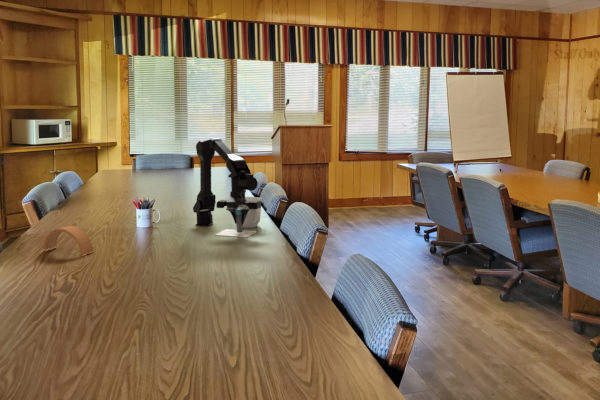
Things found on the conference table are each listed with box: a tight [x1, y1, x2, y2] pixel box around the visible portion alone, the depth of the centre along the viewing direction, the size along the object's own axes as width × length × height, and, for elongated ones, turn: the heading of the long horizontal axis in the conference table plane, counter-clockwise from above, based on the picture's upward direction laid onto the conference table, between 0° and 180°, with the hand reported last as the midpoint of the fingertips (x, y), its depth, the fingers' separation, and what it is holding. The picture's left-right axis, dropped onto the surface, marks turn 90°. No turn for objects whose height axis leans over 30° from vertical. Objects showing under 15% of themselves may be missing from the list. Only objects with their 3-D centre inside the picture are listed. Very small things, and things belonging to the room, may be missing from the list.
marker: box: [235, 209, 244, 233], centre depth 236 cm, size 3×3×10 cm
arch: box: [43, 225, 94, 256], centre depth 211 cm, size 6×20×10 cm, turn 67°
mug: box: [237, 196, 262, 229], centre depth 250 cm, size 15×11×13 cm
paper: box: [215, 228, 258, 238], centre depth 238 cm, size 15×11×1 cm
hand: (239, 224), depth 236 cm, fingers closed on marker, 3 cm apart
